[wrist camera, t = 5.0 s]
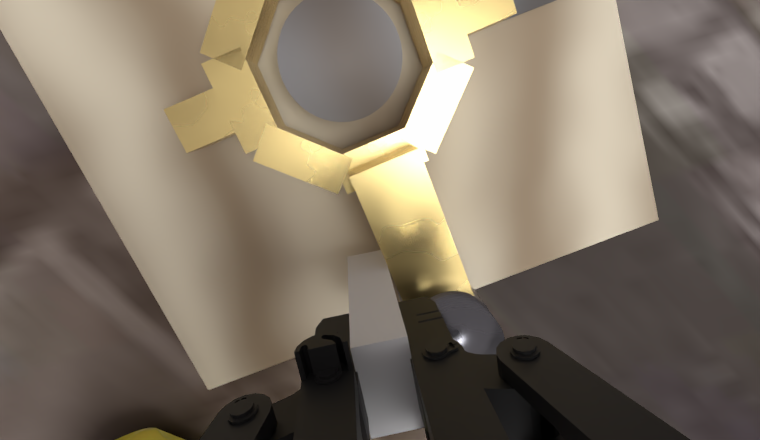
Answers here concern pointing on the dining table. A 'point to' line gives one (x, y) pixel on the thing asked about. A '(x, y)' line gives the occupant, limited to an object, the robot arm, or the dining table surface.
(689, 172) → the dining table surface
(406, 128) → the collar
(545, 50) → the post board
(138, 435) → the bottle
